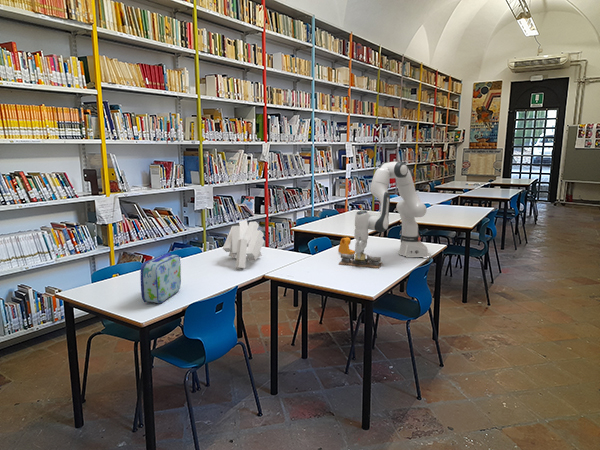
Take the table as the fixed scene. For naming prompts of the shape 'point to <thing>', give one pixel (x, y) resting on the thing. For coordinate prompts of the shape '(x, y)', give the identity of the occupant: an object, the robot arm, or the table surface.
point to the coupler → (363, 257)
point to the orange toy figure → (345, 246)
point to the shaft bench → (347, 261)
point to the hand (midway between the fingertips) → (360, 256)
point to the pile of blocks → (244, 242)
